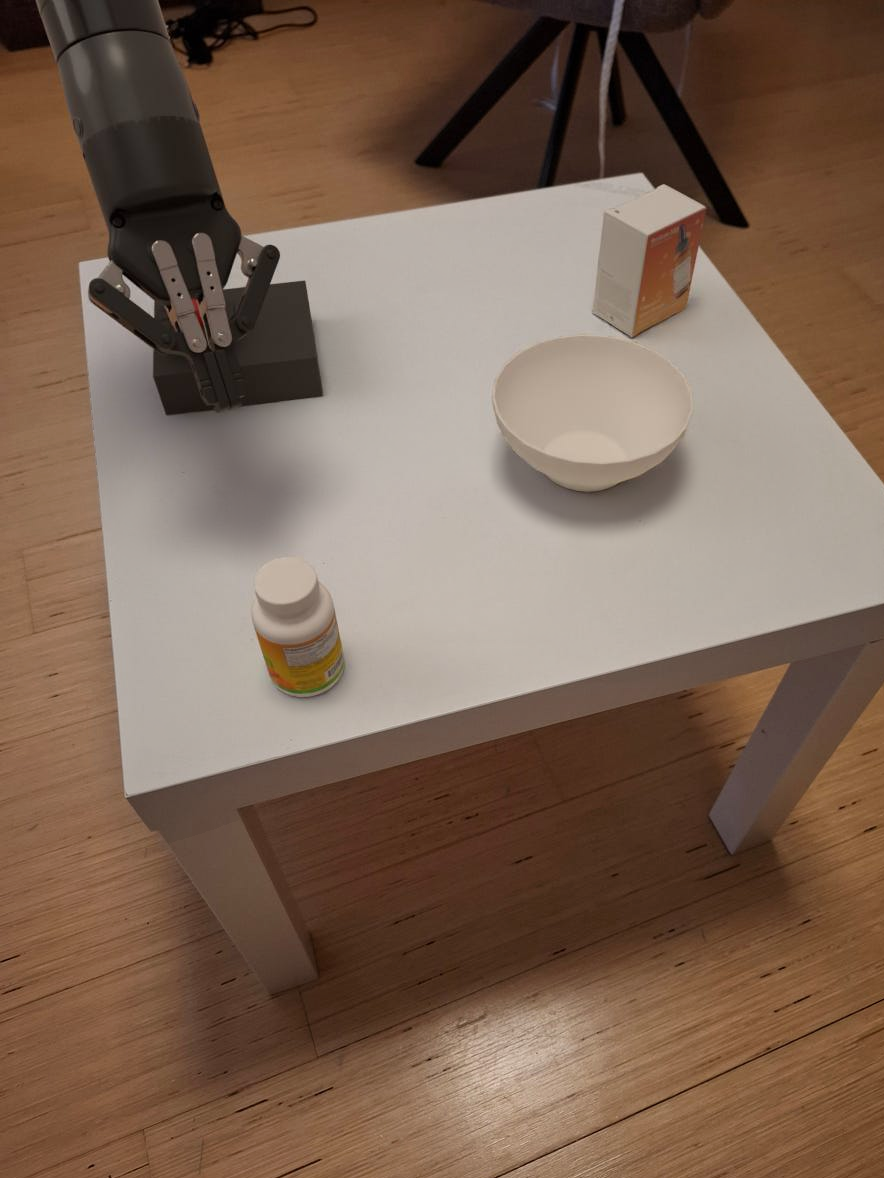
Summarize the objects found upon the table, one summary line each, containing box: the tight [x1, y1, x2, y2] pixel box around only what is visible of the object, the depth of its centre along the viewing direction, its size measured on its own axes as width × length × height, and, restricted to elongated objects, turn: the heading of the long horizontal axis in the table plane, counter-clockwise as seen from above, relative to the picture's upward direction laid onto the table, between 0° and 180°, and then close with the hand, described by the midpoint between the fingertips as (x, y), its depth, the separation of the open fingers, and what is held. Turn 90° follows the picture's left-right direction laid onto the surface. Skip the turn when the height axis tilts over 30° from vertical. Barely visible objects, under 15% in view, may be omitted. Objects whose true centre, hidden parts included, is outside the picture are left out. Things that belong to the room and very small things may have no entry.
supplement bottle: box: [250, 556, 345, 698], centre depth 63 cm, size 5×5×10 cm
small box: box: [592, 183, 707, 338], centre depth 89 cm, size 8×6×10 cm
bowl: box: [491, 333, 695, 493], centre depth 77 cm, size 16×16×7 cm
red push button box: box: [152, 279, 324, 416], centre depth 86 cm, size 14×12×6 cm
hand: (228, 409), depth 63 cm, fingers closed
